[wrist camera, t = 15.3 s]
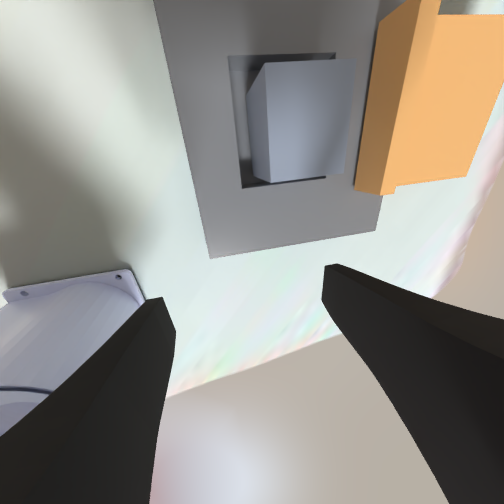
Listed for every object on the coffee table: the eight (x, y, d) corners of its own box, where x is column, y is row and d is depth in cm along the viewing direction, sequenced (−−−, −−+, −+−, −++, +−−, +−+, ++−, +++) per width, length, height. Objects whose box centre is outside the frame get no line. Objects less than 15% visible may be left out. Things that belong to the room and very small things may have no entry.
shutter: (353, 189, 14) (379, 195, 12) (378, 22, 10) (424, -15, 8) (456, 175, 15) (497, 178, 13) (514, 21, 11) (586, -11, 9)
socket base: (210, 243, 17) (210, 259, 14) (150, -41, 10) (127, -116, 7) (352, 220, 19) (375, 230, 16) (391, -33, 12) (445, -89, 9)
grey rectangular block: (251, 174, 14) (270, 182, 10) (243, 99, 12) (264, 62, 7) (301, 168, 15) (343, 173, 10) (302, 95, 13) (356, 58, 8)
